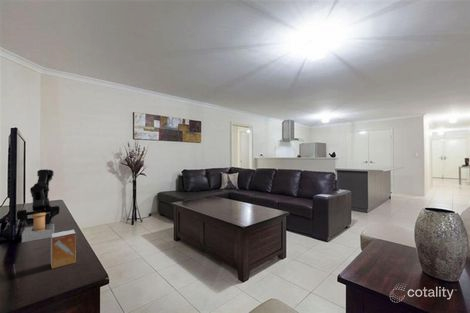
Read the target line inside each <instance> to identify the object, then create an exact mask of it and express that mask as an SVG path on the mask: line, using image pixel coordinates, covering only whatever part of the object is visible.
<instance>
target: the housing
mask: <svg viewBox="0 0 470 313" xmlns="http://www.w3.org/2000/svg"><path fill="white" fill-rule="evenodd" d="M53 233H55V223H49V224H45V229H41V230H35V231H33V226H29V227H28V226H27V227H24V230H23V231H22V232H21V243H27V242H33V241H38V240H43V239H49V238H50V239H51V234H53Z"/></svg>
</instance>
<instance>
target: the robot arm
mask: <svg viewBox="0 0 470 313" xmlns="http://www.w3.org/2000/svg"><path fill="white" fill-rule="evenodd" d="M36 176H37V177H38V178H37V182H36V183H34V185H33V186H31V187H30V188H29V192H30V195H31V198H32V208H31V209H32V210H31V211H27V209H19V210H17V211H16V220H19V221H23V222H24V223H25V225H26V226H27V228H28V227H30V224H29V217H28V216H32V215H33V214H36V213H46V215H45V225H49V224H53V221H52V220H53V219H54V217H55V216H57V215H59V214H60V206H59V205H53V206H52V205H51V203H50V199H49V191H50V187H49V186H50V182H51V180H53V177H54V170H52V169H39V170H37V175H36Z"/></svg>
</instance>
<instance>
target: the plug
mask: <svg viewBox="0 0 470 313" xmlns="http://www.w3.org/2000/svg"><path fill="white" fill-rule="evenodd" d="M45 215H46V213H36V214H33V215H31V216H32V218H33V222H32V223H33V226H32V227H33V231H35V230H41V229H45V225H46V224H45Z"/></svg>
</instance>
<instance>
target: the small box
mask: <svg viewBox="0 0 470 313" xmlns="http://www.w3.org/2000/svg"><path fill="white" fill-rule="evenodd" d="M76 240H77V232H75V229H70V230H64V231H60V232H54V233H53V234H51V237H50V265H51V269H52V270H53V269H56V268H59V267H60V268H61V267H63V266H67V265H71V264H75V263H76V262H77V260H76V258H77V256H76V253H77V250H76V247H77V246H76V245H77V241H76Z"/></svg>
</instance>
